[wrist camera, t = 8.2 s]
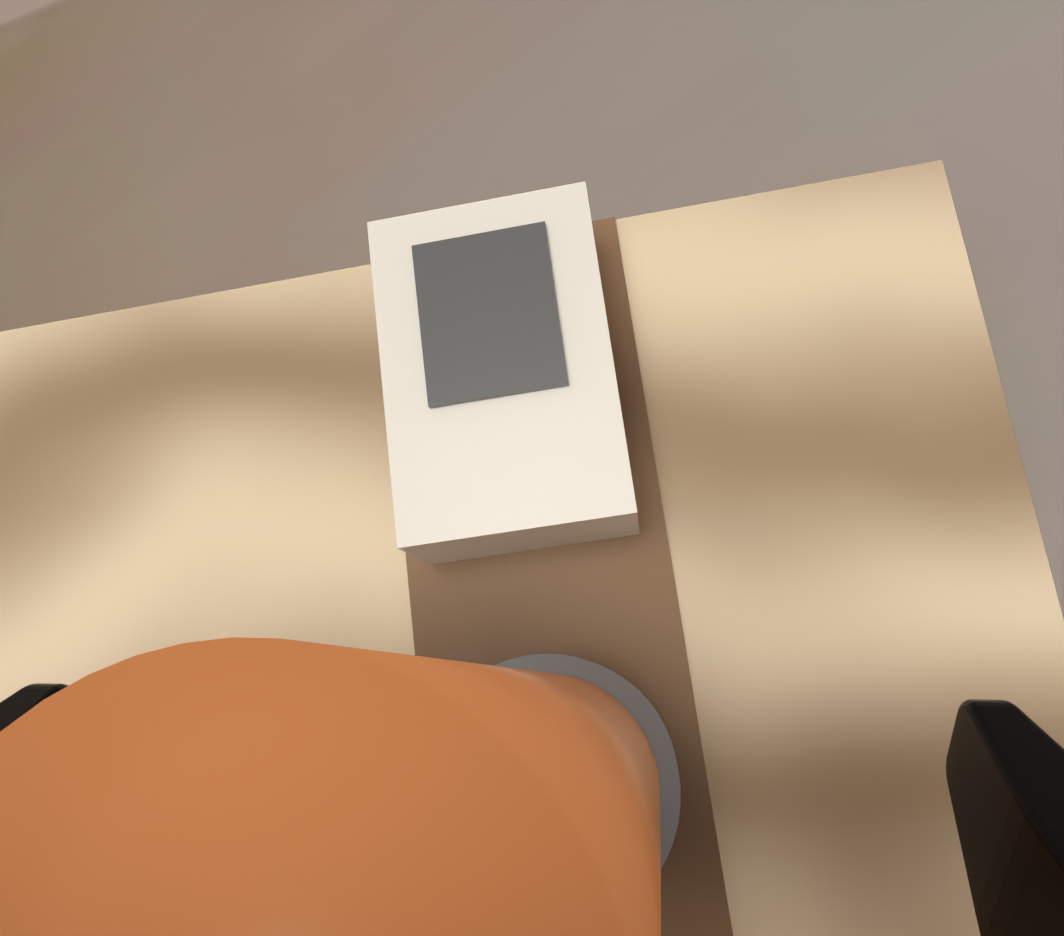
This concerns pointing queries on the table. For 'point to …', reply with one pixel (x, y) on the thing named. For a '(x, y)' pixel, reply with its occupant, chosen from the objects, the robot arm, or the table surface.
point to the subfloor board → (610, 564)
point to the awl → (336, 797)
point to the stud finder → (499, 378)
